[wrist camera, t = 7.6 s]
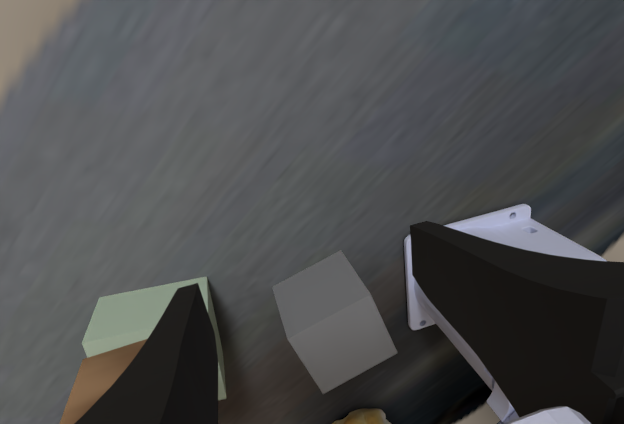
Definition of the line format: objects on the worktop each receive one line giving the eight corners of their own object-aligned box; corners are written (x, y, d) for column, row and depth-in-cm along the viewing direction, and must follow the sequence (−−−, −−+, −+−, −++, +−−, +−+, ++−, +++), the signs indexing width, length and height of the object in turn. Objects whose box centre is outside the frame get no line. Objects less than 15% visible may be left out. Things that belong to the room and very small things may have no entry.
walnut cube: (184, 327, 20) (179, 408, 16) (213, 392, 22) (216, 480, 18) (83, 359, 19) (48, 454, 15) (123, 424, 22) (103, 523, 17)
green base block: (206, 274, 24) (208, 316, 20) (222, 350, 26) (226, 398, 23) (100, 295, 23) (81, 343, 19) (127, 372, 25) (115, 427, 22)
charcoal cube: (340, 249, 25) (370, 293, 21) (365, 302, 28) (397, 353, 23) (271, 286, 25) (287, 338, 21) (303, 336, 28) (323, 394, 23)
